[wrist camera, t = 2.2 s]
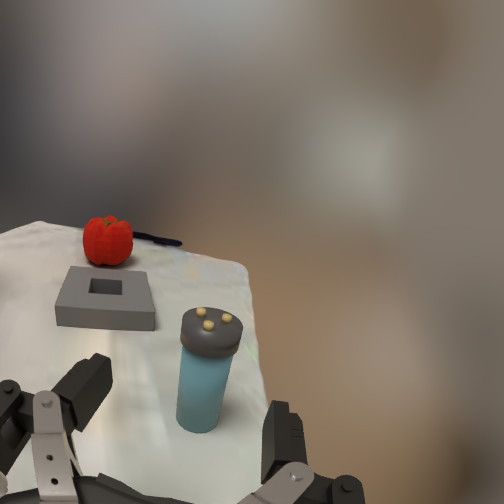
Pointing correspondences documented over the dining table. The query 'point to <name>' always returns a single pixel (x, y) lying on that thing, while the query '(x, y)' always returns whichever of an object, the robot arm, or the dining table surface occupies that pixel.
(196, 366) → the plug
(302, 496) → the robot arm
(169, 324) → the dining table surface
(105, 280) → the socket block
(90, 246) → the tomato
